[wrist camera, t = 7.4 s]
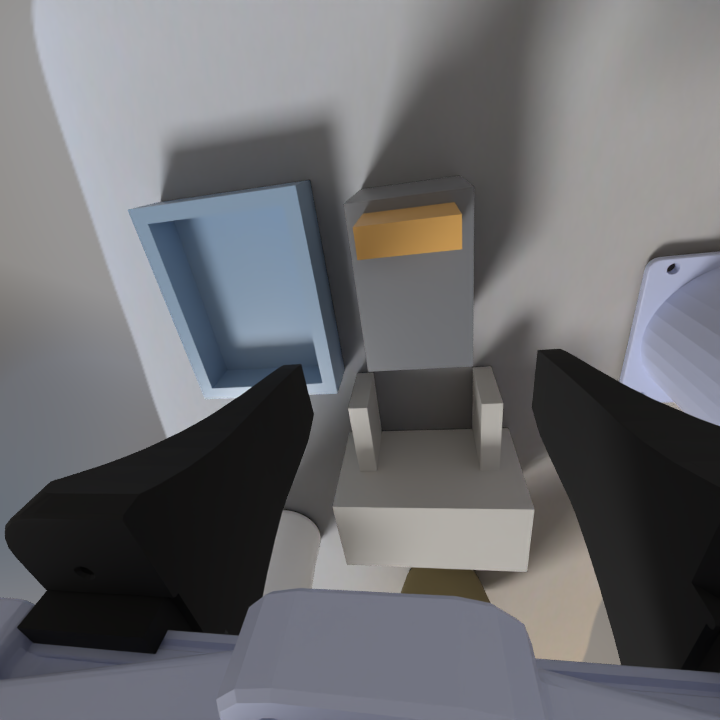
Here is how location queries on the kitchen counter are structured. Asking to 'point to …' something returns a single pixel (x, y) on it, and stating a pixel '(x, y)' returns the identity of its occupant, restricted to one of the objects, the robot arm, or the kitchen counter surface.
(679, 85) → the kitchen counter surface
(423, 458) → the bay
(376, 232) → the gray block with tab
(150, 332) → the kitchen counter surface
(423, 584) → the squeeze bottle
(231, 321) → the tray
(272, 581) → the drinking glass
